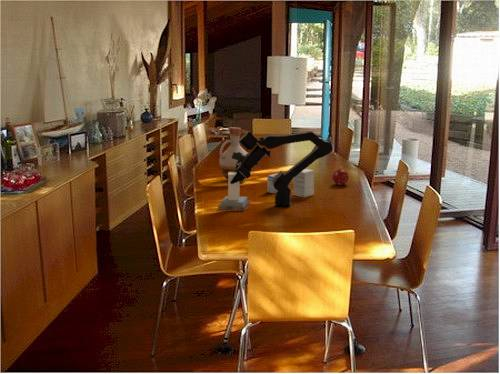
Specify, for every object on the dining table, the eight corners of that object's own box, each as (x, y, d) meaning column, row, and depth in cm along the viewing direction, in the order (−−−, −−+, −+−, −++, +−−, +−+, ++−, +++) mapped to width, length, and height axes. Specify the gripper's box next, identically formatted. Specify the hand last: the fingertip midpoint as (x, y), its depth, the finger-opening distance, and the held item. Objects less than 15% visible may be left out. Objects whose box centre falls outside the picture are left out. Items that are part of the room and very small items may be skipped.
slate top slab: (247, 200, 249) (247, 196, 249) (243, 206, 240) (242, 202, 239) (226, 200, 251) (226, 196, 251) (221, 205, 242) (221, 201, 241)
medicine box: (276, 189, 278) (276, 173, 276) (283, 190, 275) (283, 174, 273) (267, 192, 272) (267, 175, 270) (274, 193, 269) (274, 176, 267)
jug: (231, 186, 284) (229, 130, 277) (210, 181, 297) (209, 127, 290) (258, 181, 297) (257, 127, 290) (237, 176, 310) (236, 124, 303)
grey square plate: (249, 205, 251) (249, 200, 250) (244, 212, 239) (244, 207, 239) (224, 204, 253) (224, 199, 252) (218, 211, 242) (218, 206, 241)
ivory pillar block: (239, 197, 248) (239, 172, 245) (239, 200, 243) (239, 174, 240) (228, 197, 248) (228, 172, 245) (228, 200, 243) (228, 174, 240)
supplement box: (302, 192, 271) (302, 168, 268) (314, 195, 266) (314, 170, 263) (293, 195, 266) (293, 170, 263) (304, 197, 261) (304, 172, 258)
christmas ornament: (330, 185, 284) (330, 167, 282) (335, 182, 292) (335, 164, 290) (345, 187, 281) (346, 168, 278) (350, 183, 288) (351, 165, 286)
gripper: (240, 141, 249) (217, 165, 251) (242, 148, 230) (217, 173, 232) (258, 157, 251) (234, 181, 253) (261, 165, 233) (236, 190, 235)
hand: (230, 181), depth 243 cm, fingers open, 8 cm apart
